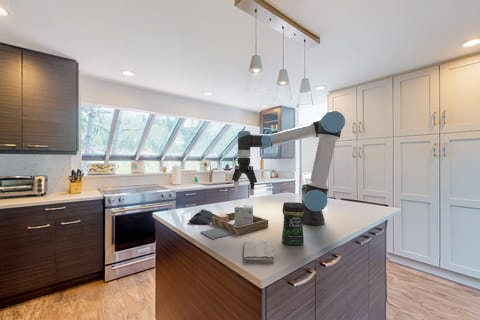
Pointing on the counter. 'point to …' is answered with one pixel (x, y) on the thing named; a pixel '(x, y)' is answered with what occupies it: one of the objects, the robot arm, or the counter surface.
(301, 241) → the coffee jar
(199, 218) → the dark slate chunk
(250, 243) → the washcloth
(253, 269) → the counter surface
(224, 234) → the mat
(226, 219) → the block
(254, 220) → the brown wooden tray
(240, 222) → the light bulb box
